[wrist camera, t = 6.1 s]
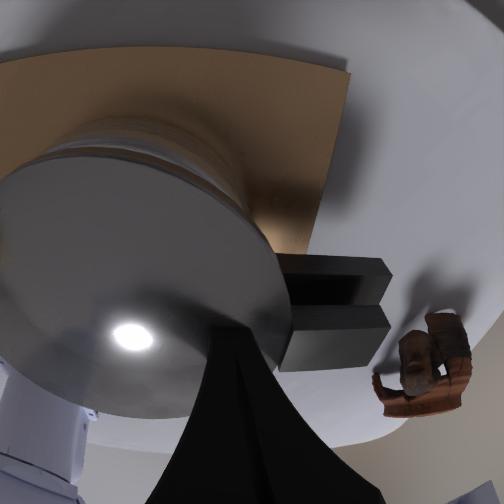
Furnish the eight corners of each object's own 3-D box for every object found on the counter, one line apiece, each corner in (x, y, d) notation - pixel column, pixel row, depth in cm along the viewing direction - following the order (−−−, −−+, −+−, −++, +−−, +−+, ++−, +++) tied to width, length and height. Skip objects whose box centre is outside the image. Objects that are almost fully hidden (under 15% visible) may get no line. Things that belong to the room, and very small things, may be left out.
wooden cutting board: (299, 348, 23) (317, 412, 18) (29, 333, 19) (8, 394, 14) (383, 83, 12) (458, 108, 8) (-29, 71, 9) (-103, 97, 4)
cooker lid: (21, 382, 13) (15, 401, 12) (-69, 159, 6) (-91, 175, 5) (322, 400, 16) (327, 420, 15) (430, 184, 9) (452, 203, 8)
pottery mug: (470, 321, 26) (475, 402, 22) (387, 338, 32) (388, 413, 28) (458, 292, 18) (467, 416, 14) (337, 318, 24) (337, 426, 20)
